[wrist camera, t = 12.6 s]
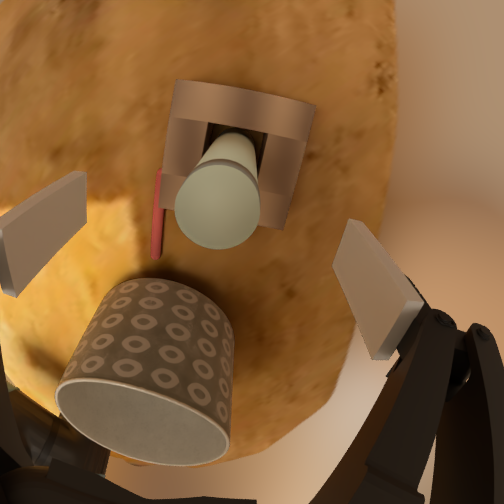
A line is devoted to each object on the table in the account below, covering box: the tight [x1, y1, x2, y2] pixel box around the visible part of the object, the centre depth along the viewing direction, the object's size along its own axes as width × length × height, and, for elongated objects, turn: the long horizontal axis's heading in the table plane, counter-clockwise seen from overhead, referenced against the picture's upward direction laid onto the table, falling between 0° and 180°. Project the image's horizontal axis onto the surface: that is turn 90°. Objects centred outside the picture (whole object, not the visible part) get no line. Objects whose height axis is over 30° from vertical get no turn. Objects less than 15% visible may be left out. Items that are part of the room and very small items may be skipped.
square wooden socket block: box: [158, 79, 316, 230], centre depth 27 cm, size 12×12×5 cm
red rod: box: [151, 168, 164, 260], centre depth 33 cm, size 11×1×1 cm, turn 168°
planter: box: [55, 278, 235, 466], centre depth 33 cm, size 19×19×18 cm
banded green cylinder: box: [175, 127, 261, 249], centre depth 22 cm, size 4×4×18 cm
